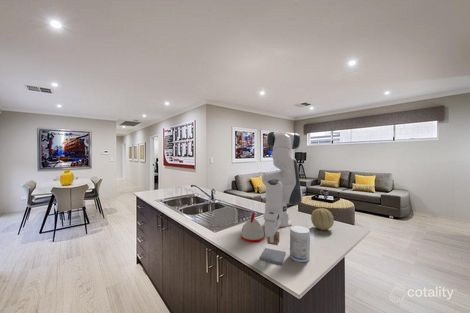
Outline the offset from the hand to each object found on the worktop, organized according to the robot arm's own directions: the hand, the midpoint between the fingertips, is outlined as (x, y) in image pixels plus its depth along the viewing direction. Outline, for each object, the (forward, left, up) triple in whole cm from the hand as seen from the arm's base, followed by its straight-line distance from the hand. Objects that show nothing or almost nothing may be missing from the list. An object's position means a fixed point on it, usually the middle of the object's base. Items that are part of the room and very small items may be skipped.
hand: (273, 239), depth 102 cm
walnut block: (0, 0, -2) cm, 2 cm away
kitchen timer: (-18, -17, -9) cm, 27 cm away
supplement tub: (-5, +12, -9) cm, 16 cm away
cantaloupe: (-52, +23, -9) cm, 58 cm away
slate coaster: (0, 0, -9) cm, 9 cm away
